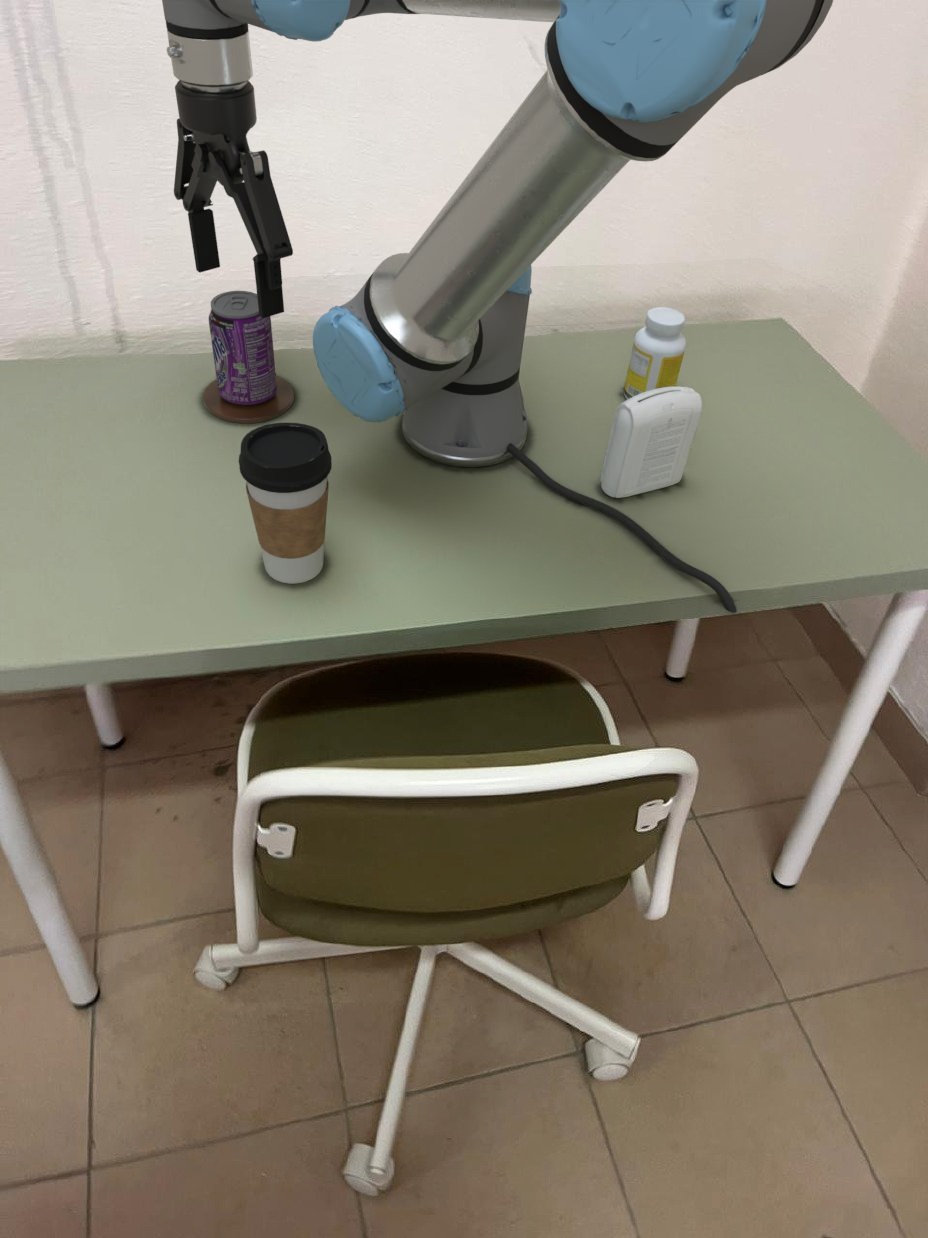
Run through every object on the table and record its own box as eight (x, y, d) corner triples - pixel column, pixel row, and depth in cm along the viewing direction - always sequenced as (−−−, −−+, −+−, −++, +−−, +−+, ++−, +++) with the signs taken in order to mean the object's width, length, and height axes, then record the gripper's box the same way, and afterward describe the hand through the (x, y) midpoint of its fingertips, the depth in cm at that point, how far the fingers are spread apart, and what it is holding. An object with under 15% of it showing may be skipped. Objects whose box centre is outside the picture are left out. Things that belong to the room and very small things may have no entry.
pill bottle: (678, 396, 121) (701, 314, 113) (659, 417, 117) (680, 334, 109) (634, 379, 123) (653, 298, 115) (614, 399, 119) (631, 316, 111)
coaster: (310, 404, 114) (310, 400, 113) (233, 433, 108) (232, 429, 108) (263, 366, 119) (262, 362, 119) (187, 392, 114) (186, 387, 113)
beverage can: (222, 378, 115) (209, 287, 107) (278, 379, 116) (271, 289, 107) (216, 409, 110) (202, 316, 102) (275, 410, 111) (267, 318, 103)
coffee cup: (321, 599, 90) (314, 476, 79) (239, 583, 90) (221, 459, 80) (346, 545, 95) (342, 424, 85) (268, 531, 96) (256, 408, 86)
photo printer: (664, 463, 110) (690, 372, 101) (685, 484, 107) (713, 392, 99) (593, 482, 106) (613, 389, 97) (613, 504, 104) (635, 410, 95)
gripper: (118, 53, 93) (155, 258, 108) (248, 123, 80) (270, 344, 95) (184, 44, 97) (211, 244, 112) (319, 110, 84) (330, 324, 99)
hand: (239, 290), depth 103 cm, fingers open, 13 cm apart
